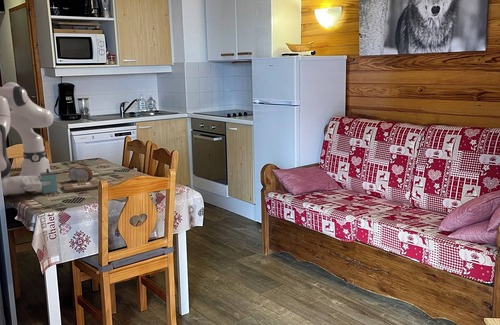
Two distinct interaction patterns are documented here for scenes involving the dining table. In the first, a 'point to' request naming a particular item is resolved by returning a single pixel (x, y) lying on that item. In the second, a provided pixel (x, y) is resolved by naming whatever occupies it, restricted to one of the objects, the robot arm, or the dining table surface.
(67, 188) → the pin board
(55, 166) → the dining table surface
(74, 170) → the tin
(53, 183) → the housing
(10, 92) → the robot arm
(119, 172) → the dining table surface
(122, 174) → the dining table surface
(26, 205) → the dining table surface
